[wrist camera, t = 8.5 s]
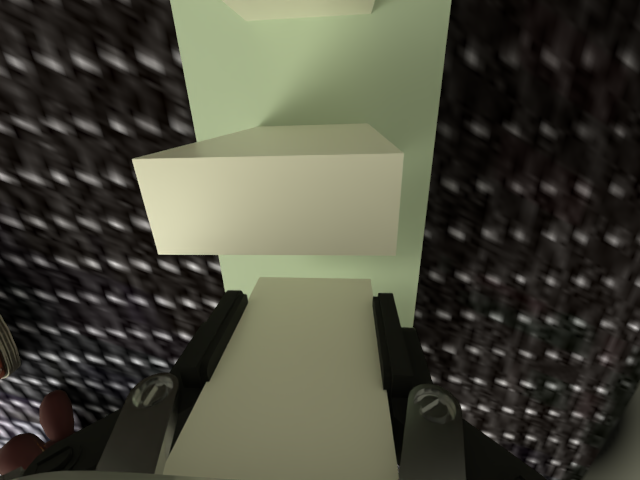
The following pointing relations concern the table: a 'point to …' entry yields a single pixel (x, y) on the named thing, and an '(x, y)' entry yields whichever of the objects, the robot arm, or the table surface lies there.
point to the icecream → (28, 446)
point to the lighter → (7, 352)
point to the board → (325, 109)
